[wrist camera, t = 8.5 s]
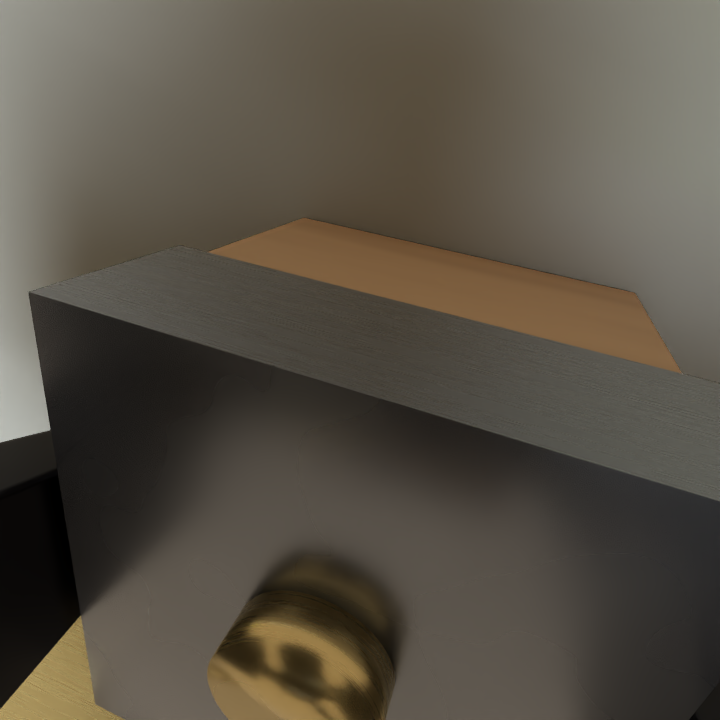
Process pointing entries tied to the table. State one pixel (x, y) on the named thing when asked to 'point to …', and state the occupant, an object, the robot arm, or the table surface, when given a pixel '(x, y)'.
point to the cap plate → (372, 505)
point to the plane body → (462, 287)
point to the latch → (58, 685)
